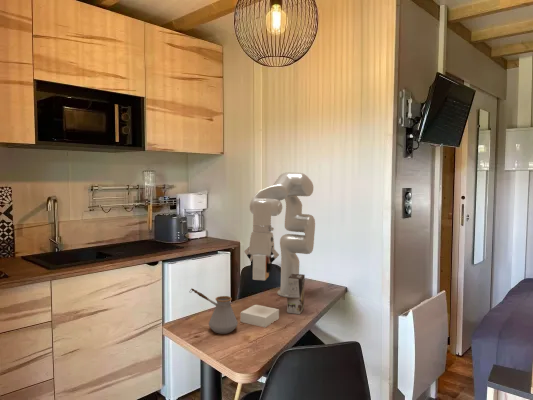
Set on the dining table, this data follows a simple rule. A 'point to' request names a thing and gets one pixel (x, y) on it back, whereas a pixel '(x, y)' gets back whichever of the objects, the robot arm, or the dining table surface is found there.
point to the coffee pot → (221, 314)
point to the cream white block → (259, 315)
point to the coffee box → (295, 293)
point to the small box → (260, 267)
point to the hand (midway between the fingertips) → (261, 270)
